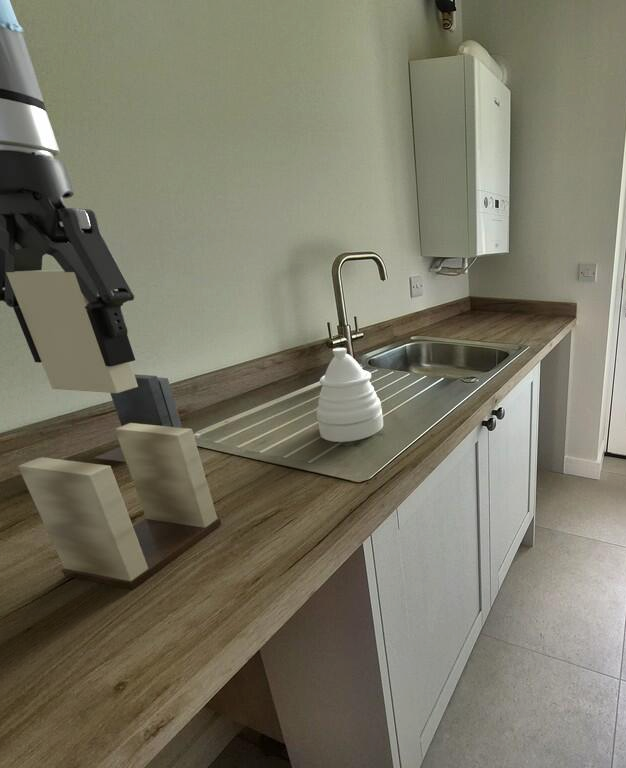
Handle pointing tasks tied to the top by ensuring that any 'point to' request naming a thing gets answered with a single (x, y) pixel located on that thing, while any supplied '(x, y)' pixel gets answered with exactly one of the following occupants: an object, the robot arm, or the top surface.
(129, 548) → the cream book stand
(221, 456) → the top surface
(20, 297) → the cream book
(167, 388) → the grey book stand
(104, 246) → the robot arm
